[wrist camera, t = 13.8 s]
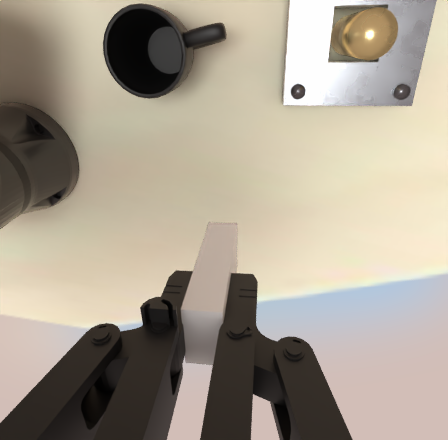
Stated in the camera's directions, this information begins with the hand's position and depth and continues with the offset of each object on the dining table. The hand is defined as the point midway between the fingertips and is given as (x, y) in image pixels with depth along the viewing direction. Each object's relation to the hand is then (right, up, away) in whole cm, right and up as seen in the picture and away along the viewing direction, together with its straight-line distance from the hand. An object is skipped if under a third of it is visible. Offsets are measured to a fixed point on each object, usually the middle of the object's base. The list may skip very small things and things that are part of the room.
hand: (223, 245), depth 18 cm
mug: (-5, +22, +23) cm, 32 cm away
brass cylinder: (+14, +22, +20) cm, 33 cm away
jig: (+14, +22, +20) cm, 33 cm away
